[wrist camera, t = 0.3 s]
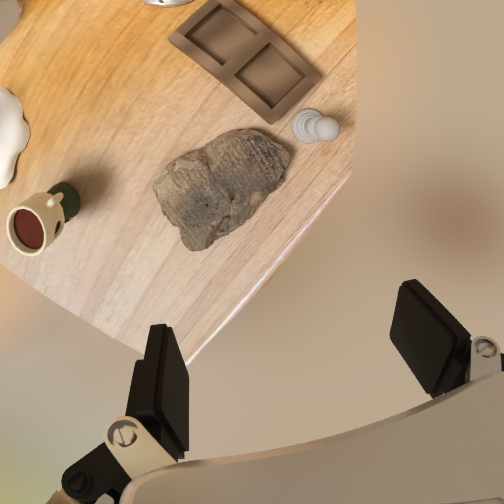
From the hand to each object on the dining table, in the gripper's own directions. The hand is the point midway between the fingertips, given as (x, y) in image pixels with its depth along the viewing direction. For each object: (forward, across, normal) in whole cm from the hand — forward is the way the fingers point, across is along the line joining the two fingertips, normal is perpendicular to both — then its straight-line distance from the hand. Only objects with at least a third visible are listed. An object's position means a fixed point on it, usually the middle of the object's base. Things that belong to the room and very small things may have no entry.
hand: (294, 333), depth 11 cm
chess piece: (+36, -12, -5) cm, 38 cm away
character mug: (+36, +27, 0) cm, 45 cm away
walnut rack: (+35, -4, -16) cm, 39 cm away
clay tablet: (+36, +1, +2) cm, 36 cm away
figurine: (+36, +41, -14) cm, 56 cm away
